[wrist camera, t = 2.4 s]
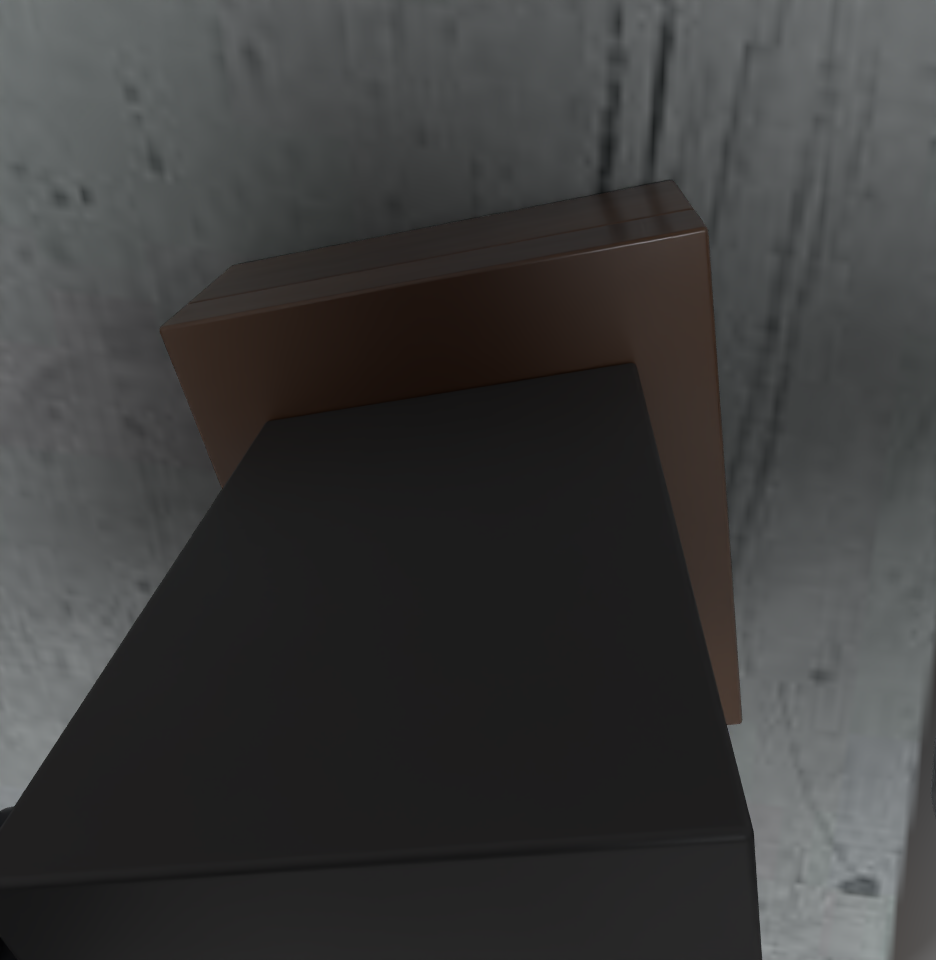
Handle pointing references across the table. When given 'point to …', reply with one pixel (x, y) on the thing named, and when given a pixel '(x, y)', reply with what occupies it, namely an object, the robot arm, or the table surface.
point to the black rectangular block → (406, 710)
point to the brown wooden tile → (487, 343)
